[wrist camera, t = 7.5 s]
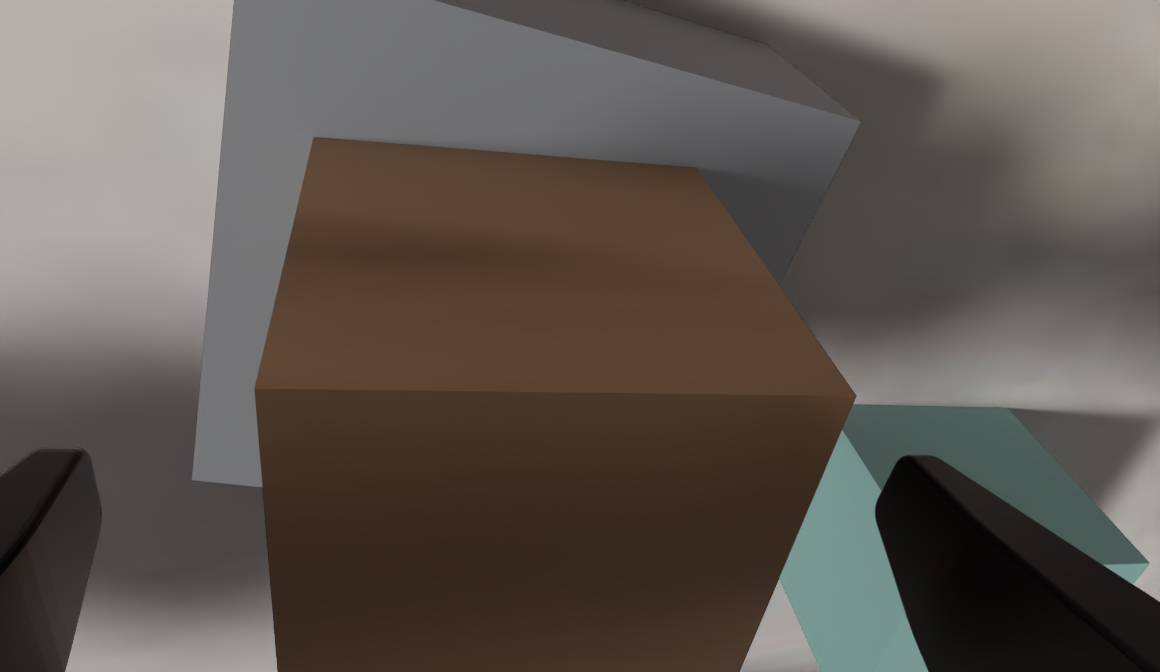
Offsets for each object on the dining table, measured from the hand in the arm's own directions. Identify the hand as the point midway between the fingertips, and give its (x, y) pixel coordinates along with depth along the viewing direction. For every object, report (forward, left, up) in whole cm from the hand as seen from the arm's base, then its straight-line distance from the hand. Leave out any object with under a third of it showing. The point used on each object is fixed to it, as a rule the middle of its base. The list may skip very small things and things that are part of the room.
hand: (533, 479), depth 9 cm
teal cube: (-7, -11, -7) cm, 15 cm away
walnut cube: (0, 0, -4) cm, 4 cm away
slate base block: (0, 0, -8) cm, 8 cm away
